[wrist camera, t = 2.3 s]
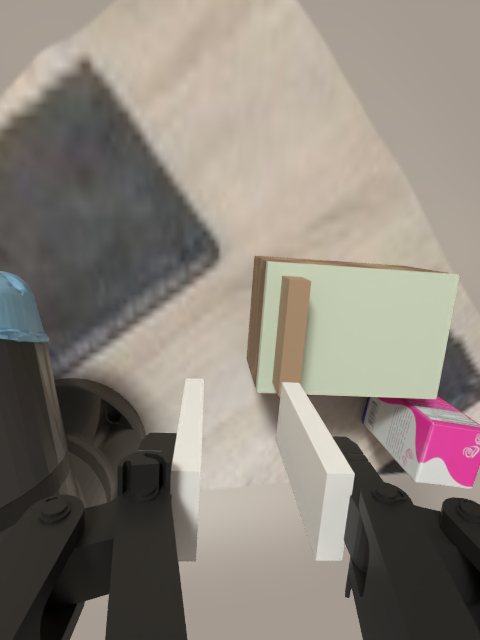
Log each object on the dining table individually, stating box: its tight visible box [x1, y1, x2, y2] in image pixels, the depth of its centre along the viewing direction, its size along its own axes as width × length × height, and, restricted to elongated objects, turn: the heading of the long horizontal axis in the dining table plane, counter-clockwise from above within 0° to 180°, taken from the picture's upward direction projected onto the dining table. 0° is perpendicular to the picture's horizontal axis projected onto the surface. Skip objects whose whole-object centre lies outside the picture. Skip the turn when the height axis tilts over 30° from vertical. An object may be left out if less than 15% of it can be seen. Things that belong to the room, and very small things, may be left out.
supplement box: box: [362, 396, 480, 489], centre depth 39 cm, size 6×6×12 cm
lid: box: [256, 261, 460, 399], centre depth 31 cm, size 16×11×4 cm
